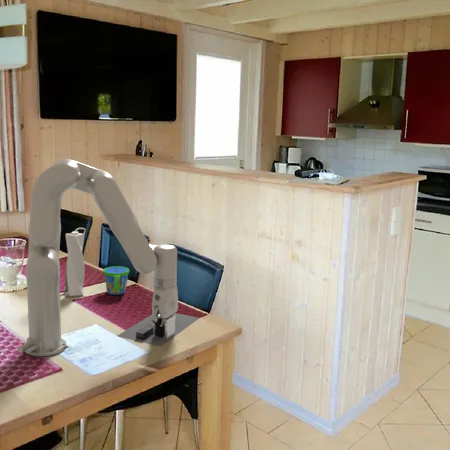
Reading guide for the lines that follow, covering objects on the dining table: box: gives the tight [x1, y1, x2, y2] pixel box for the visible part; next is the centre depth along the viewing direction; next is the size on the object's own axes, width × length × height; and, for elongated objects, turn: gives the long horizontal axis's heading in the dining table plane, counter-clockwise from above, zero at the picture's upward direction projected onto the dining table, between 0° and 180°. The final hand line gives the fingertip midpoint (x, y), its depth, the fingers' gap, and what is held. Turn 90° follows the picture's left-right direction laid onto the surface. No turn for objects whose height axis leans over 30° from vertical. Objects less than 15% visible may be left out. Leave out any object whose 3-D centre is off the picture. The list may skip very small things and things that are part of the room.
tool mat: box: [117, 312, 200, 347], centre depth 181 cm, size 28×17×1 cm, turn 157°
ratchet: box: [136, 312, 176, 340], centre depth 179 cm, size 21×7×7 cm, turn 157°
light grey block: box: [153, 314, 175, 340], centre depth 173 cm, size 5×5×7 cm
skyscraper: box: [64, 227, 87, 298], centre depth 210 cm, size 8×8×28 cm
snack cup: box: [103, 265, 130, 296], centre depth 216 cm, size 16×10×10 cm
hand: (164, 332), depth 174 cm, fingers closed on light grey block, 5 cm apart
